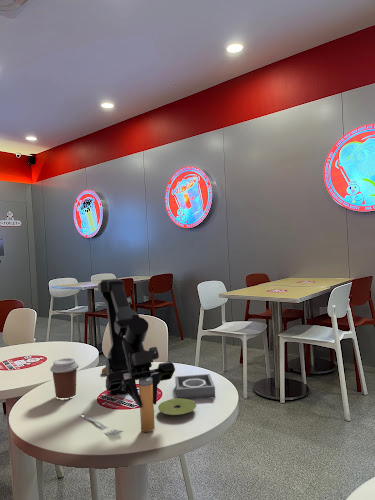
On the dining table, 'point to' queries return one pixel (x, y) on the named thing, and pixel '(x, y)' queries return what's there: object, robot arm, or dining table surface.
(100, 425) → the fork
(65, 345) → the dining table surface
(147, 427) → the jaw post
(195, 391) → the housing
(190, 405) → the olive green flat disc
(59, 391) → the coffee cup
